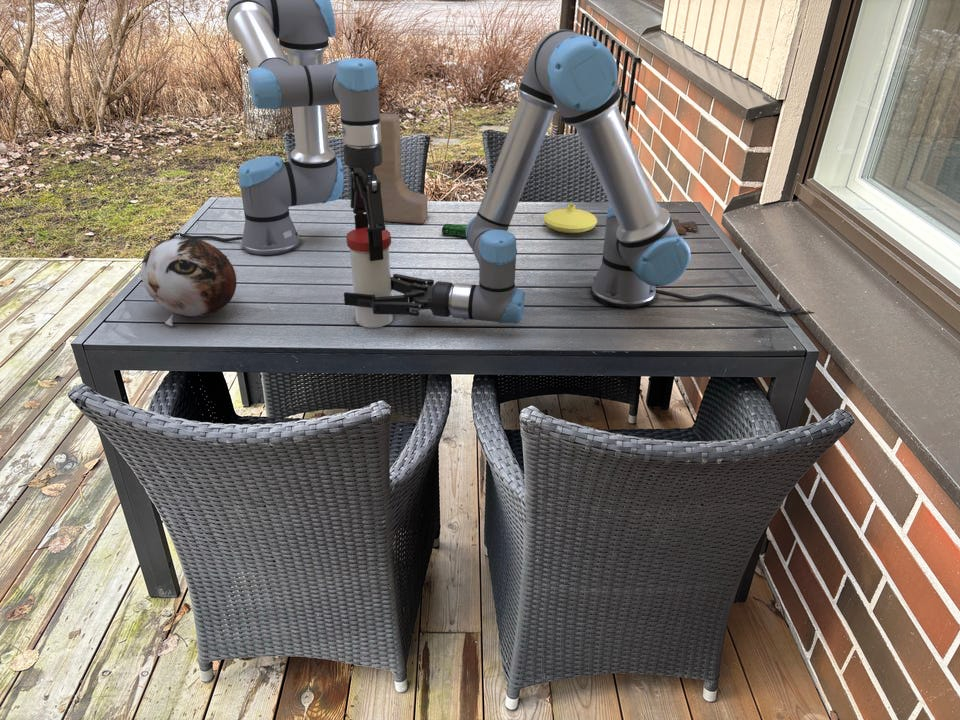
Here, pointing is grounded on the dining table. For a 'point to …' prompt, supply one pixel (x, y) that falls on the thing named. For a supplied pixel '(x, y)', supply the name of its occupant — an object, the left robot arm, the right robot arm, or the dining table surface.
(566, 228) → the yellow flat disc
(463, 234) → the handgun
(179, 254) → the plush toy
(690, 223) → the brown lumpy piece
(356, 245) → the lid
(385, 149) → the decorative block
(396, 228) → the dining table surface
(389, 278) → the jar
